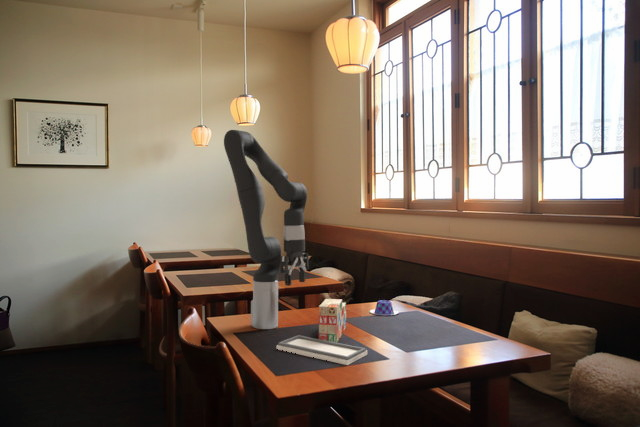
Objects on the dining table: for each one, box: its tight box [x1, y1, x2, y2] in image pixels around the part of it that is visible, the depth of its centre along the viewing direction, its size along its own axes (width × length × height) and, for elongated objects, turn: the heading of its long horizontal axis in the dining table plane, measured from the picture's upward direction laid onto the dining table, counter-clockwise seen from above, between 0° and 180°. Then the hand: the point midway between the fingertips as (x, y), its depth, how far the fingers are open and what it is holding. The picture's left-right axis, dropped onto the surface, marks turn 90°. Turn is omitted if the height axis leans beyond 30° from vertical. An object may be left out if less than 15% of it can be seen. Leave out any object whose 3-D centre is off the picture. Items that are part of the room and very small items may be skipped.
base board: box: [276, 334, 369, 366], centre depth 153 cm, size 26×12×2 cm, turn 56°
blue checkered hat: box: [369, 299, 399, 316], centre depth 207 cm, size 12×12×5 cm
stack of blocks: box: [318, 298, 347, 343], centre depth 174 cm, size 21×6×12 cm, turn 169°
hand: (295, 283), depth 176 cm, fingers open, 8 cm apart
